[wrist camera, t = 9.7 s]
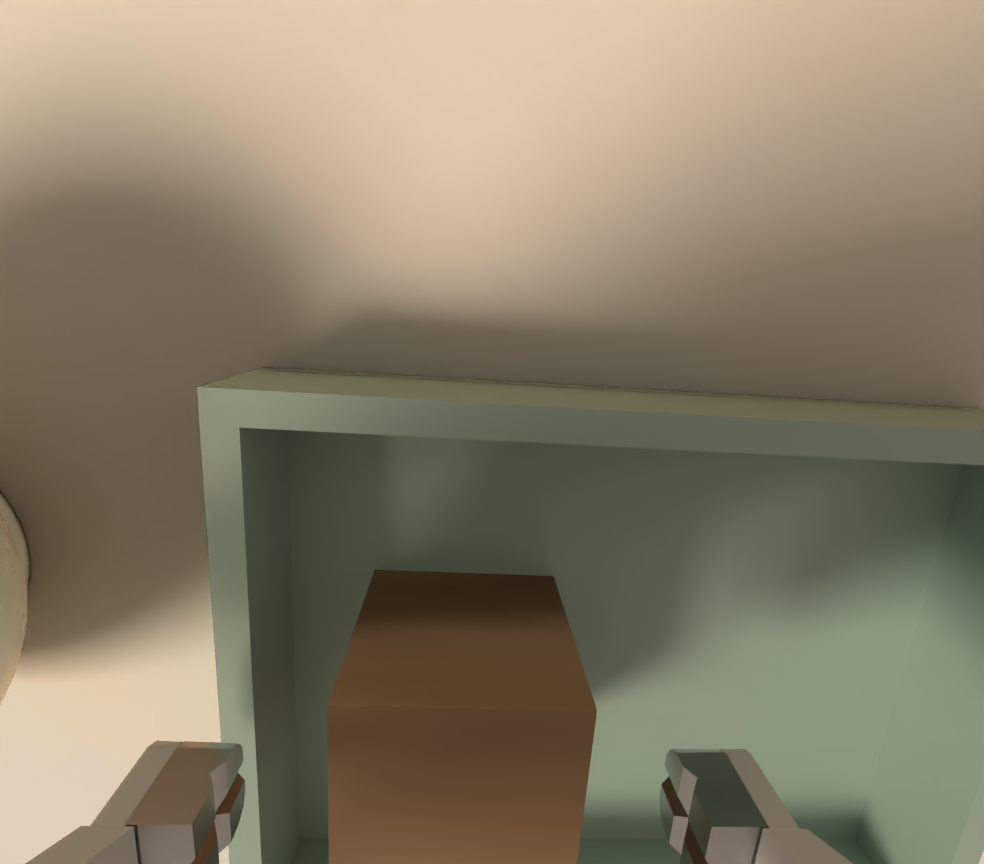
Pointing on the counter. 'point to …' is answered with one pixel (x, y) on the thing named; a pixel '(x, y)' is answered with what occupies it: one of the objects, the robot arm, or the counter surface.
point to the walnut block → (459, 724)
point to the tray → (621, 587)
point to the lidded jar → (12, 593)
